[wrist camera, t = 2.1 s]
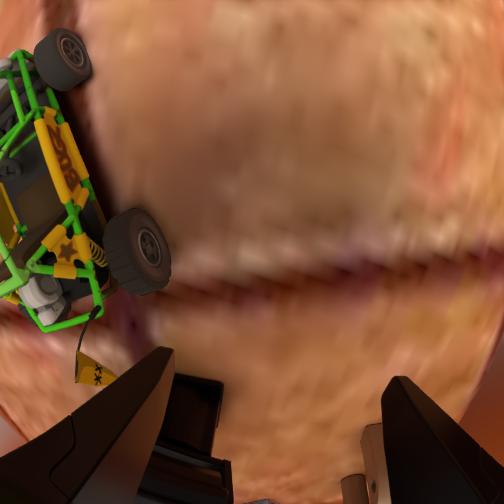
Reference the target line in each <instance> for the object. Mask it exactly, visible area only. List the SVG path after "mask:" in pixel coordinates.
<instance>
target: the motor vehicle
mask: <svg viewBox="0 0 504 504" xmlns="http://www.w3.org/2000/svg"><path fill="white" fill-rule="evenodd" d="M90 71H91V61H90V59H89V56H88V53H87V50H86V48H85V46H84V44H83V43H82V41H81V40H80V39H79V38H78V37H77V36H76V35H75V34H74V33H73V32H71V31H70V30H67V29H63V28H57V29H55V30H53V31H52V32H51V33H50V34H48V35H47V36H46V37H45V38H44V39H42V40H41V41H40V42H39V43H38V44H37V45H36V47H35V49H34V56H33V55H32V54H30V53H29V52H27V51H25V50H21V49H17V50H14V51H13V52H12V53H11V54H10V55H9V56H8V57H7V58H3V59H1V60H0V253H1V255H2V257H3V259H2V262H0V282H2V281H4V282H3V283H2V284H0V298H2V297H3V298H4V299H6V300H8V301H10V302H12V303H14V304H16V305H17V304H18V307H19V308H20V309H19V310H20V312H21V313H22V315H24V316H25V317H26V319H27V320H28V321H29V322H30V323H31V322H32V323H33V324H35V325H36V326H38V327H40V329H41V330H42V331H43V332H45V333H49V332H53V331H57V330H61V329H64V328H68V327H71V326H74V325H77V324H81V323H84V322H86V324H85V327H84V329H83V331H82V334H81V336H80V340H79V344H78V348H77V350H76V367H75V383H77V382H78V383H81V384H86V385H91V386H105V385H109V384H111V383H112V382H113V381H115V380H116V379H117V378H118V376H116V375H115V374H114V373H113V372H112V371H110V370H109V369H107V368H106V367H104V366H103V365H101V364H99V363H98V362H96V361H95V360H93V359H92V358H90V357H88V356H87V355H85V354H83V353H82V352H80V351H79V350H80V346H81V342H82V337H83V335H84V333H85V330H86V328H87V325H88V323H89V321H90V320H94V319H96V318H99V317H101V316H103V313H104V308H103V303H102V299H104V298H106V297H108V296H109V295H111V294H113V293H115V292H116V291H117V281H118V283H119V285H120V286H121V287H122V288H123V289H126V290H127V291H128V292H129V293H130V294H132V295H134V296H135V295H140V296H144V295H147V294H150V293H153V292H156V291H159V290H161V289H163V288H164V286H167V284H168V282H169V276H171V269H170V265H171V259H170V255H169V251H168V246H167V244H166V241H165V239H164V236H163V234H162V232H161V230H160V229H159V227H158V226H157V224H156V223H155V221H154V219H152V218H151V217H150V216H149V214H148V213H147V212H145V211H144V212H143V211H142V210H140V209H139V208H133V209H129V210H127V211H125V212H123V213H121V214H119V215H117V216H115V217H113V218H111V219H110V220H109V223H107V222H106V219H105V217H104V215H103V212H102V210H101V208H100V205H99V203H98V200H97V198H96V195H95V193H94V190H93V188H92V185H91V183H90V180H89V174H88V172H87V169H86V167H85V165H84V162H83V160H82V157H81V155H80V153H79V150H78V148H77V145H76V143H75V140H74V138H73V135H72V132H71V130H70V127H69V124H68V123H67V122H65V121H64V118H63V115H62V113H61V110H60V107H59V105H58V102H57V100H56V97H55V95H54V92H53V90H52V88H54V89H57V90H59V91H69V90H71V89H72V88H73V87H75V86H76V85H78V84H79V83H80V82H82V81H83V80H85V79H86V78H87V77H88V76H89V75H90ZM14 225H15V226H16V227H17V232H16V233H14V229H13V226H14ZM20 236H21V237H22V241H21V242H20V243H19V244H18V242H19V240H20ZM5 243H6V244H7V245H8V246H6V244H5ZM17 244H18V245H17ZM109 270H110V288H108V289H105V290H103V291H101V289H100V288H101V287H102V286H103V285H104V284H105V283H106V282H107V280H108V277H109ZM90 294H93V299H94V305H95V308H94V309H93V310H92V312H89V313H86V314H84V315H81V316H78V317H75V318H72V319H69V320H66V321H63V322H61V321H62V320H65V319H66V318H67V316H68V313H69V311H70V310H71V302H72V301H74V300H77V299H80V298H82V297H85V296H88V295H90Z"/></svg>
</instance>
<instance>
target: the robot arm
mask: <svg viewBox="0 0 504 504" xmlns="http://www.w3.org/2000/svg"><path fill="white" fill-rule="evenodd" d="M174 371H175V352H174V350H173V349H172V348H167V347H163V346H159V347H157V348H156V349H155V350H153V351H152V352H151V353H150V354H148V355H147V356H146V357H144V358H143V359H142V360H141V361H139V362H138V363H137V364H135V365H134V366H133V367H131V368H130V369H129V370H128V371H126V372H125V373H124V374H122V375H121V376H120V377H118V378H117V379H116V380H115V381H113V382H112V383H111V384H109V385H108V386H107V387H105V388H104V389H103V390H101V391H100V392H99V393H98V394H96V395H95V396H94V397H92V398H91V399H90V400H88V401H87V402H86V403H84V404H83V405H82V406H80V407H79V408H78V409H76V410H75V411H74V412H72V413H71V415H68V416H67V417H66V418H64V419H63V420H62V421H60V422H59V423H57V424H56V425H55V426H53V427H52V428H50V429H49V430H47V431H46V432H45V433H43V434H41V435H40V436H38V437H36V438H35V439H33V440H31V441H30V442H28V443H26V444H24V445H22V446H20V447H19V448H17V449H15V450H13V451H11V452H9V453H8V454H6V455H4V456H2V457H0V504H233V502H234V498H233V485H232V471H231V461H228V460H225V459H224V460H221V459H217V458H214V457H211V455H212V449H213V443H214V437H215V431H216V428H217V427H218V422H219V416H220V410H221V403H222V397H223V391H224V385H223V384H221V383H219V382H213V381H208V380H202V379H197V378H192V377H187V376H182V375H177V374H174ZM381 409H382V426H383V444H384V452H385V459H386V466H387V473H388V481H389V489H390V498H391V504H504V467H503V466H502V465H501V464H499V463H498V462H497V461H496V460H495V459H494V458H493V457H492V456H491V455H489V454H488V453H487V452H486V451H485V450H484V449H483V448H482V447H480V445H479V444H478V443H477V442H476V441H475V440H474V439H473V438H472V437H471V436H470V435H469V434H468V433H466V432H465V431H464V430H463V429H462V428H461V427H460V426H459V425H458V424H457V423H456V422H455V421H454V420H453V419H452V418H451V417H450V416H449V415H448V414H447V413H445V412H444V411H443V410H442V409H441V408H440V407H439V406H438V405H437V404H436V403H435V402H434V401H433V400H432V399H431V398H430V397H429V396H427V395H426V394H425V393H424V392H423V391H422V390H421V389H420V388H419V387H418V386H417V385H416V384H415V383H414V382H413V381H411V380H410V379H409V378H408V377H407V376H394V377H393V378H392V379H391V381H390V382H389V384H388V386H387V387H386V389H385V391H384V392H383V394H382V397H381Z"/></svg>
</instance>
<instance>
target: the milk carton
mask: <svg viewBox="0 0 504 504" xmlns="http://www.w3.org/2000/svg"><path fill="white" fill-rule="evenodd" d="M245 504H279V503H277V502H275V501H272V500H270V499H265V500H260V501H255V502H250V503H245Z"/></svg>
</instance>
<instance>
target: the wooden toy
mask: <svg viewBox="0 0 504 504" xmlns="http://www.w3.org/2000/svg"><path fill="white" fill-rule="evenodd" d="M361 448H362V453H363V459H364V464H365V470H366V476H367V482H368V488H369V494H370V501H371V504H391V498H390V489H389V481H388V473H387V466H386V459H385V452H384V444H383V426H382V424H374V425H367V426H366V429H365V431H364V434H363V436H362V439H361ZM341 486H342V495H343V504H369V498H368V491H367V485H366V479H365V477H364V476H363V475H352V476H349V477H346V478H344V479H343V480H342V482H341Z"/></svg>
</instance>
